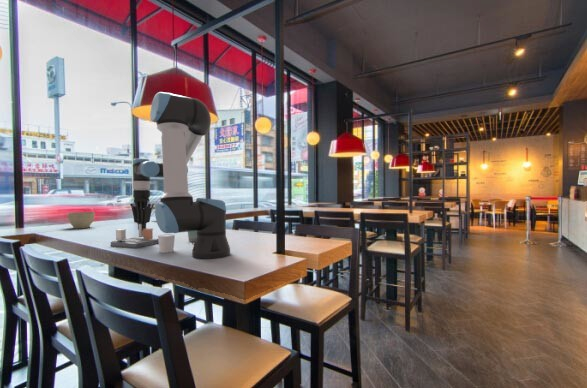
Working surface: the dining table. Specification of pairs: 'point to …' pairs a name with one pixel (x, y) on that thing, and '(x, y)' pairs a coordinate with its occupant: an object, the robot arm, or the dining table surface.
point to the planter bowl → (81, 219)
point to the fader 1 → (121, 234)
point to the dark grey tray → (134, 242)
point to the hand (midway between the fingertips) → (142, 236)
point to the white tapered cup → (166, 243)
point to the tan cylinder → (148, 233)
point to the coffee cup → (192, 236)
